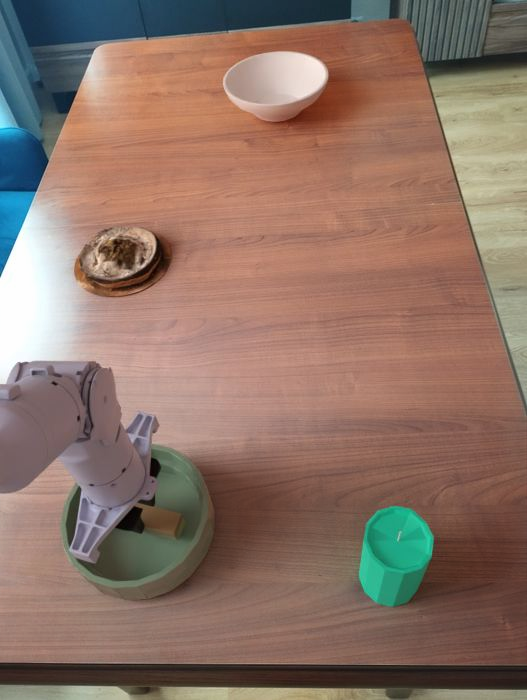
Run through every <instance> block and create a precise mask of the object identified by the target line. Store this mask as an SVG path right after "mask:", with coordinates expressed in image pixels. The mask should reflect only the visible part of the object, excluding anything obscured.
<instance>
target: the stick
mask: <svg viewBox="0 0 527 700" xmlns="http://www.w3.org/2000/svg"><path fill="white" fill-rule="evenodd" d="M134 506H136V507H139V508H143V511H142V513H141V519H142V521H143V523H144V525H145V528H144V530H143V532H145V533H149V534H153V535H156V536H160V537H163V538H167V539H170V540H174V541H177V542H178V541H179V538H180V536H181V533H182V531H183V528H184V526H185V523H186V522H185V520H184V518H183V516H182V514H179V513H175V512H172V511H168V510H164V509H160V508H157V507H151V506H148V505H144V504H140V503H136V504H135V505H134Z"/></svg>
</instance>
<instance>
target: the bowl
mask: <svg viewBox="0 0 527 700" xmlns="http://www.w3.org/2000/svg"><path fill="white" fill-rule="evenodd" d="M329 76H330V75H329V69H328V67H327V66H326V64H325V63H324V62H323V61H322V60H321V59H319V58H318V57H315V56H314V55H311V54H308V53H303V52H299V51H290V50H278V51H268V52H262V53H259V54H255V55H251V56H249V57H246V58H244V59H242V60H240V61H239V62H236V63H235V64H234V65H232V66H231V67H230V68H229V69H227V71H226V73H224V76H223V80H222V85H223V89H224V91H225V94H226V95H227V97H228V98H229V100H230V101H231V102H232V103H233V104H234V105H235V106H236V107H237V108H239V109H240V110H242V111H244V112H246V113H248V114H252V115H254V116H255V117H256V118H258V119H259V120H262V121H264V122H265V121H266V122H272V123H273V122H274V123H275V122H282V121H289V120H290V119H294V118H295V117H297V116H298V115H299V114H300V113H301V112H302V111H303V110H305V109H306V108H308V107H310V106H312V105H313V104H314V103H315V102H316V101H317V100H318V99H319V98H320V97H321V95H322V93H323V92H324V91H325V89H326V86H327V83H328V81H329Z"/></svg>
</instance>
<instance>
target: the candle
mask: <svg viewBox="0 0 527 700" xmlns="http://www.w3.org/2000/svg"><path fill="white" fill-rule="evenodd" d="M362 541H363V542H362V549H361V555H360V563H359V569H358V579H359V582H360V585H361V587H362V591H363V592H364V593H365V594H366V595H367V596H368V597H369V598H370V599H371V600H372V601H374V602H375V603H376V604H378V605H381V606H382V605H383V606H386V607H391V608H394V607H398V606H401V605H404V604H407V603H409V602H410V600H411V599H412V598H413V597H414V595H415V594H416V593H417V592H418V590H419V588H420V585H421V583H422V581H423V578H424V575H425V574H426V571H427V569H428V566H429V564H430V562H431V559H432V558H433V550H434V549H433V548H434V541H435V537H434V534H433V532H432V531H431V529H430V527H429V525H428V523H427V521H426V520H425V519H424V518H423V517H421V516H420V515H419V514H418V513H417V512H416V511H415V510H413V508H409V507H403V506H400V505H399V506H398V505H392V506H388V507H385V508H382V509H377V511H375V512H374V514H373V515H372V516H371V517H370V519H369V520H368V521H367V522H366V524H365V529H364V535H363V540H362Z"/></svg>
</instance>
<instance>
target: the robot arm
mask: <svg viewBox="0 0 527 700" xmlns="http://www.w3.org/2000/svg"><path fill="white" fill-rule="evenodd" d="M122 415H123V414H122V407H121V405H120V403H119V401H118V397H117V387H116V380H115V376H114V372H113V368H112V367H111V366H109V367H102V365H101V364H100V363H99V362H97V361H95V360H31V361H22V362H21V361H18V362H17V361H16V363H15V364H14V366H13V367H12V368H11V370H10V371H9V374H8V376H7V380H6V382H5V383H0V495H1V494H2V495H3V494H4V495H6V494H12V493H16V492H19V491H21V490H23V489H25V488H27V487H28V486H29V485H30V484H32V483H33V482H34V481H35V480H36V479H37V478H38V477H39V476H41V474H42V473H43V472H44V471H45V470H46V469H47V468H48V467H49V466H51V465H52V464H53V463H54V462H55V460H57V459H58V461H59V462H60V463H61V464H62V465H63V467H64V468H65V469H66V471H67V472H68V473H69V474H70V476H71V477H72V478H73V479H74V481H75V482H77V483H78V485H79V486H80V487H81V489H82V491H81V498H80V505H79V512H78V518H77V525H76V531H75V536H74V539H73V542H72V544H71V547H70V549H69V551H70V552H71V553H72V554H73V555H74V556H75V557H76V558H78V559H81V560H84V561H88V562H91V563H94V564H95V563H96V561H97V559H98V557H99V555H100V552H99V551H98V550H97V548H98V546H99V545H100V544H101V542H102V541H103V540H104V539H105V538H106V537H107V535H108V534H109V533H110V532H111V531H112V530H113V529H114V528H117V529H121V530H124V531H132V532H136V533H139V534H142V533H143V530H144V528H145V525H144V523H143V521H142V519H141V513H142V511H143V508H139V507H136V506H134V505H135V504H136V503H140V504H144V505H148V506H151V507H154V505H155V492H156V489H157V487H158V481H157V477H158V474H159V472H160V470H161V465H160V463H159V461H158V460H157V459H155V458H151V448H152V444H153V434H156V433H157V432H158V430H159V428H160V425H161V424H160V423H159V420H158V419H157V415H156V414H152V413H146V412H143V411H137V412H136V414H135V416H134V418H132V420H131V421H130V423H129V424H128V425H127V426H126V427H124V425H123V423H122Z"/></svg>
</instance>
